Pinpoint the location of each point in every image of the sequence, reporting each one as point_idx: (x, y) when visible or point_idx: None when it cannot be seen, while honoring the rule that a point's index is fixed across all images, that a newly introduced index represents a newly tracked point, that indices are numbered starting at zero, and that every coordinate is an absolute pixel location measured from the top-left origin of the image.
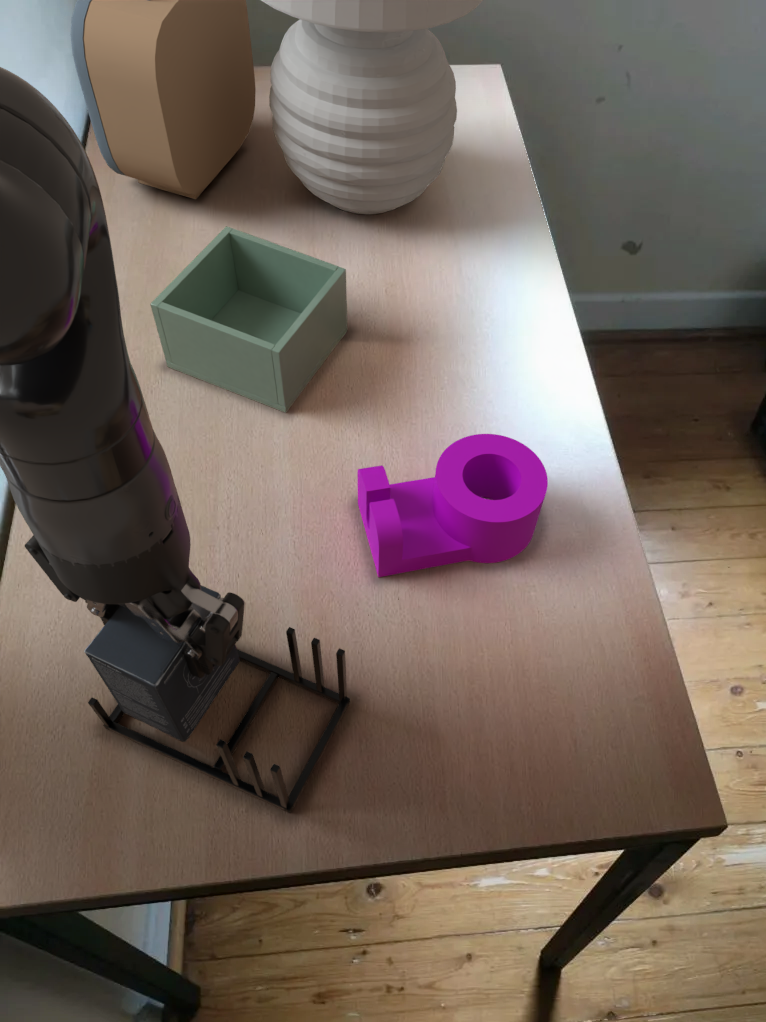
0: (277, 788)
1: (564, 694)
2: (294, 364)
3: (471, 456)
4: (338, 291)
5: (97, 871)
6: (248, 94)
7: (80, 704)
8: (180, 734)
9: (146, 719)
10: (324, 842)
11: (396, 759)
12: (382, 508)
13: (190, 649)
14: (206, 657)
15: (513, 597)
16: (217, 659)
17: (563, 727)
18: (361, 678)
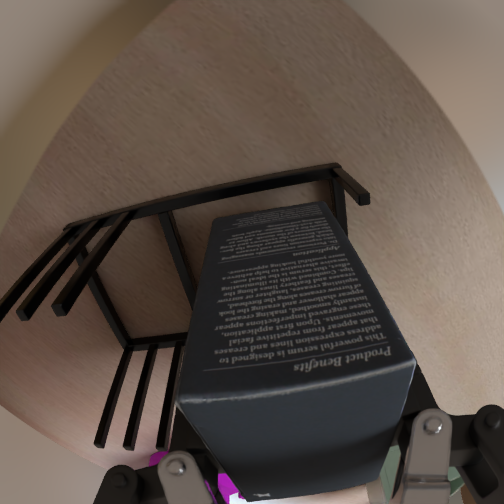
0: (31, 267)
1: (43, 404)
2: (378, 485)
3: None
4: None
5: (192, 15)
6: (464, 497)
7: (387, 170)
8: (211, 232)
9: (275, 219)
10: (28, 223)
11: (56, 322)
12: (228, 491)
13: (170, 489)
14: (135, 482)
15: (123, 441)
16: (107, 491)
17: (24, 387)
18: (141, 364)
